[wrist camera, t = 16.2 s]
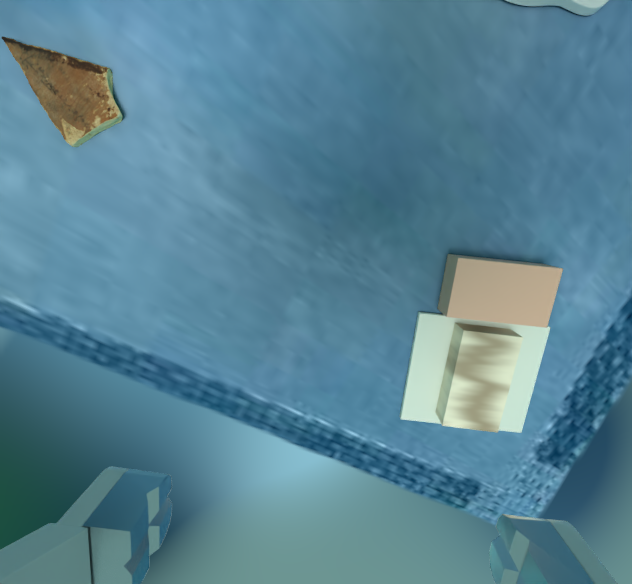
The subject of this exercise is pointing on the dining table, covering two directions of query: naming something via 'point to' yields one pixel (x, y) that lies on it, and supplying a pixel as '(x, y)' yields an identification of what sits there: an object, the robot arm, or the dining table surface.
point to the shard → (69, 91)
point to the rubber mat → (431, 363)
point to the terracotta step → (498, 290)
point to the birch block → (477, 376)
